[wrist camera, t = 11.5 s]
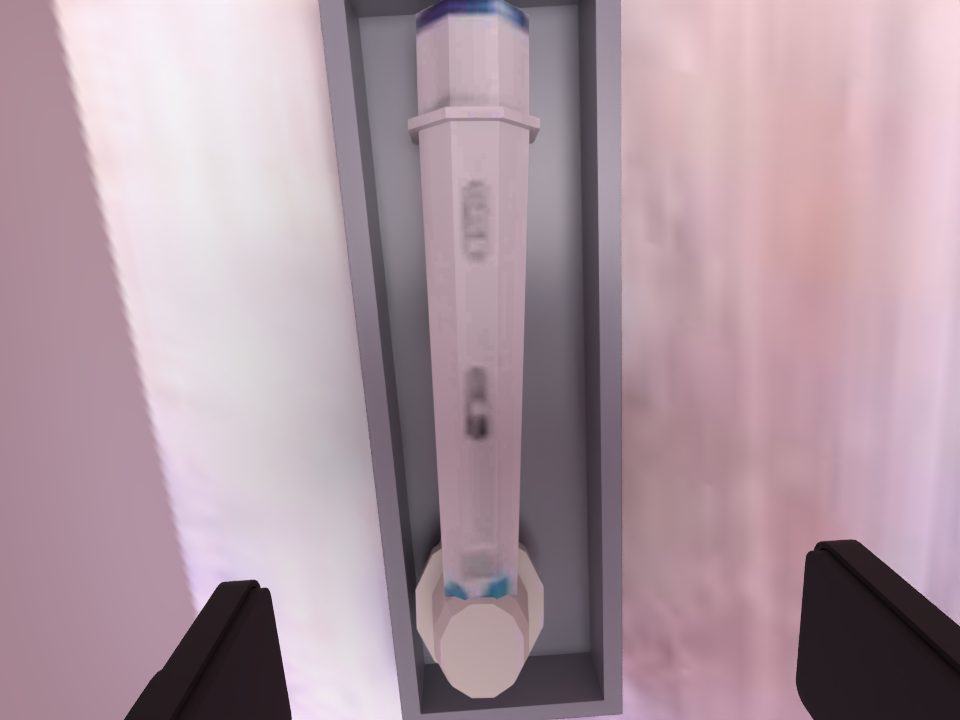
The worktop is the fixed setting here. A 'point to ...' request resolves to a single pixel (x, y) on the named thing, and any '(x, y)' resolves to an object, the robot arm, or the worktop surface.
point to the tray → (547, 342)
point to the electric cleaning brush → (476, 336)
